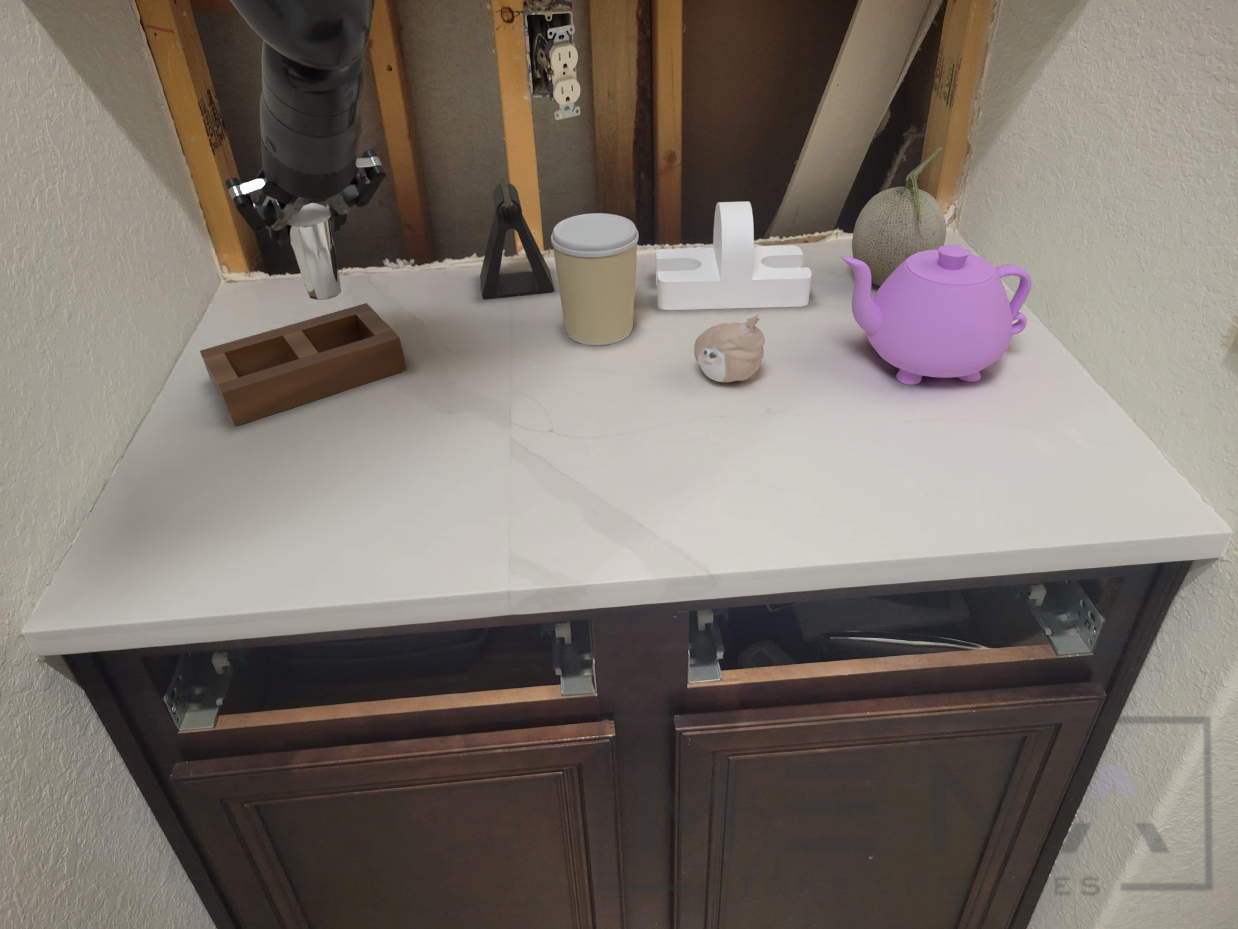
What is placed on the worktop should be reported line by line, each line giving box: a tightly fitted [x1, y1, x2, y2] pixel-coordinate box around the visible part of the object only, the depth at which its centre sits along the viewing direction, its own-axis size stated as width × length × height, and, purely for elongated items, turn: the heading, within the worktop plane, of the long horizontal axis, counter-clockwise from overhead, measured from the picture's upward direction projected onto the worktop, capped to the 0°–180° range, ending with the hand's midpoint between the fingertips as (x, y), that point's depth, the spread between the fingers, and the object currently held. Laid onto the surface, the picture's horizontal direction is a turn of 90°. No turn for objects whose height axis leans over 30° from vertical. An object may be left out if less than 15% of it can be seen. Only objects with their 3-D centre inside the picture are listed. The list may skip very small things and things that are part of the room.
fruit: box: [851, 146, 947, 287], centre depth 97 cm, size 10×12×15 cm
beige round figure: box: [693, 314, 766, 383], centre depth 83 cm, size 7×6×8 cm
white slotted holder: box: [655, 201, 813, 311], centre depth 98 cm, size 10×18×11 cm, turn 90°
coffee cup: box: [550, 212, 640, 346], centre depth 91 cm, size 9×9×12 cm
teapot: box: [841, 243, 1032, 385], centre depth 83 cm, size 20×14×12 cm
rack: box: [199, 302, 408, 427], centre depth 87 cm, size 10×18×4 cm, turn 124°
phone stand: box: [479, 182, 555, 300], centre depth 100 cm, size 9×6×12 cm, turn 100°
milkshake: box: [287, 202, 342, 301], centre depth 81 cm, size 4×5×10 cm
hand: (306, 229), depth 82 cm, fingers closed on milkshake, 4 cm apart
